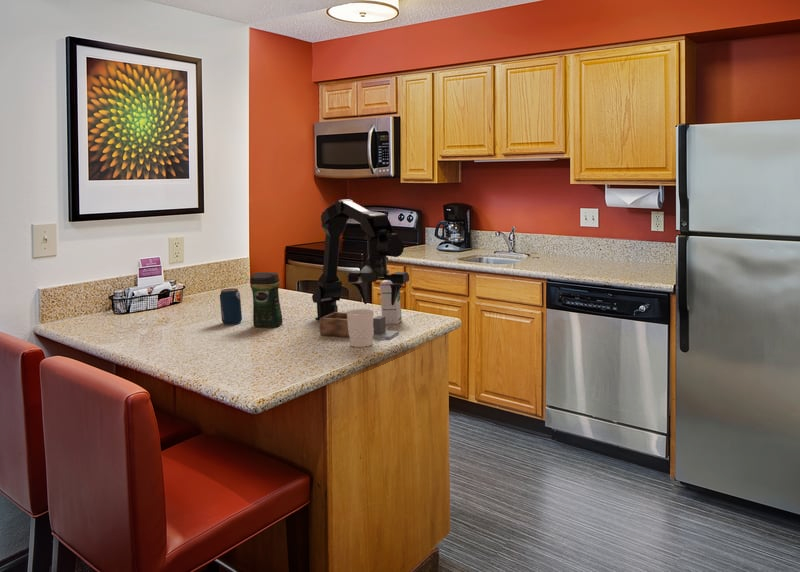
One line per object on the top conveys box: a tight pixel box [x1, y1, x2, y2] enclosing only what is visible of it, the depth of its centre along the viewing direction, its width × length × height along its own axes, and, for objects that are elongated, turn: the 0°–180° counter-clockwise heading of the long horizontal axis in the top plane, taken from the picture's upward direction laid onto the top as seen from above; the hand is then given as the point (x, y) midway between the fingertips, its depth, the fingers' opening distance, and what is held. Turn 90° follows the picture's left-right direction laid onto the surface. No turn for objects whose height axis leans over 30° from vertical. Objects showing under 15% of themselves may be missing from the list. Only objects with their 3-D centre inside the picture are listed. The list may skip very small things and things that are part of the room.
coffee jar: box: [249, 271, 283, 328], centre depth 210 cm, size 10×8×19 cm
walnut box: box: [319, 311, 349, 338], centre depth 197 cm, size 12×10×6 cm
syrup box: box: [379, 280, 402, 325], centre depth 209 cm, size 6×6×14 cm
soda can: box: [219, 287, 243, 326], centre depth 216 cm, size 7×7×12 cm
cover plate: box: [373, 315, 400, 340], centre depth 192 cm, size 10×7×6 cm
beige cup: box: [346, 308, 374, 348], centre depth 182 cm, size 8×8×10 cm
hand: (379, 304), depth 191 cm, fingers open, 9 cm apart
